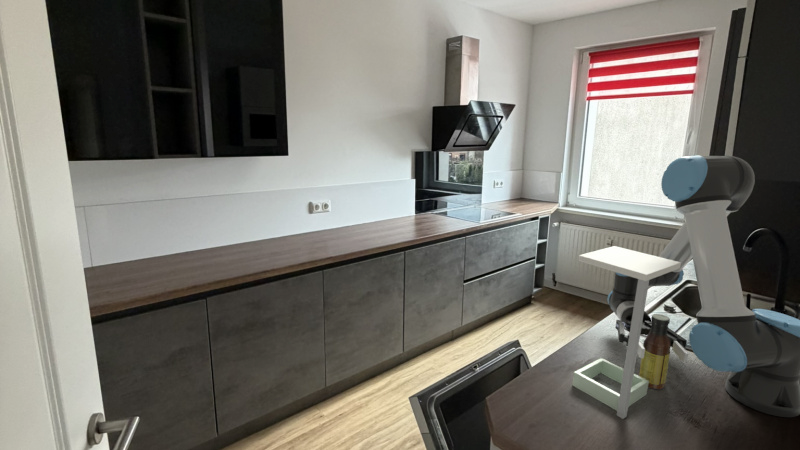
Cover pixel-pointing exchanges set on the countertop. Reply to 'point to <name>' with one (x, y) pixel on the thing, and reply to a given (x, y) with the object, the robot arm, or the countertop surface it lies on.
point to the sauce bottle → (656, 353)
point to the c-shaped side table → (643, 270)
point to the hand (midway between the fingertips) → (664, 355)
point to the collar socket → (603, 393)
